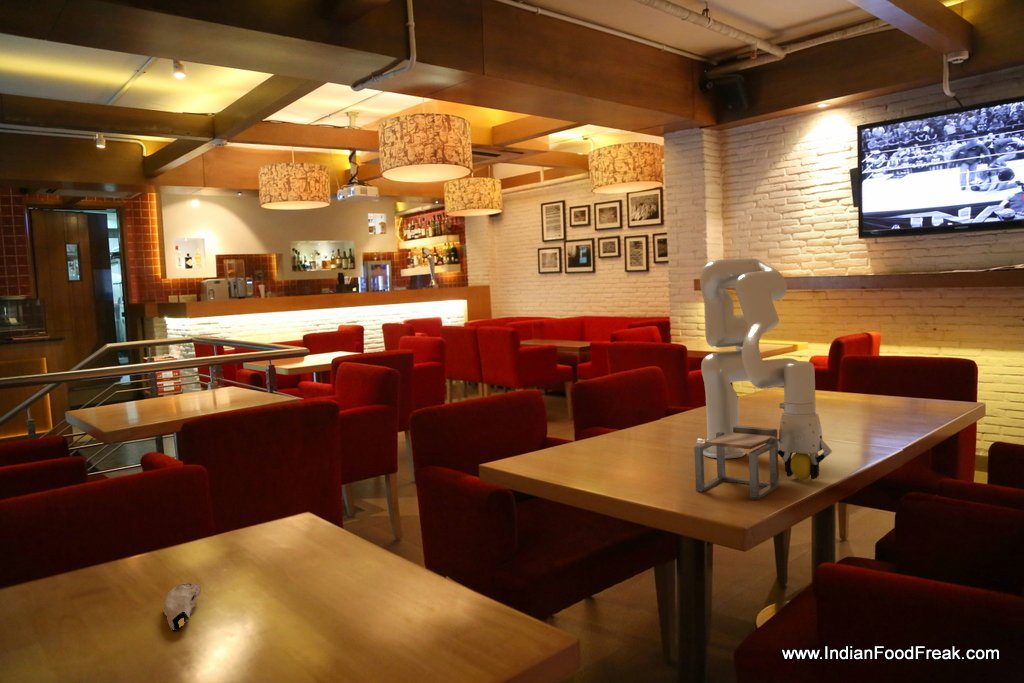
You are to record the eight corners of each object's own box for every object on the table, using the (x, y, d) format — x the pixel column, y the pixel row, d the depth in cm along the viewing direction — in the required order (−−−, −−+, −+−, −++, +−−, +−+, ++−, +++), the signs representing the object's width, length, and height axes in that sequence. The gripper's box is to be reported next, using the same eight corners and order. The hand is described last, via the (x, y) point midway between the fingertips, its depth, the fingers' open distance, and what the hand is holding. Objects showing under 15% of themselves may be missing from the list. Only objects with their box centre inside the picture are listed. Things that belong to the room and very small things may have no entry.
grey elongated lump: (165, 606, 133) (163, 582, 133) (202, 600, 135) (200, 576, 135) (154, 639, 120) (151, 612, 120) (195, 632, 122) (193, 605, 122)
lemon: (815, 483, 187) (814, 452, 186) (792, 483, 188) (791, 453, 188) (811, 477, 192) (810, 448, 192) (789, 477, 194) (788, 448, 193)
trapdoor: (704, 450, 185) (704, 436, 185) (736, 438, 199) (735, 425, 199) (750, 455, 177) (750, 440, 177) (779, 442, 192) (779, 429, 191)
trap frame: (696, 491, 186) (694, 442, 185) (720, 478, 197) (718, 432, 196) (756, 500, 176) (755, 448, 175) (779, 486, 186) (777, 437, 185)
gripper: (762, 409, 192) (764, 476, 193) (829, 413, 181) (831, 484, 182) (773, 404, 197) (775, 470, 199) (839, 408, 186) (841, 477, 187)
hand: (802, 476), depth 190 cm, fingers closed on lemon, 5 cm apart
